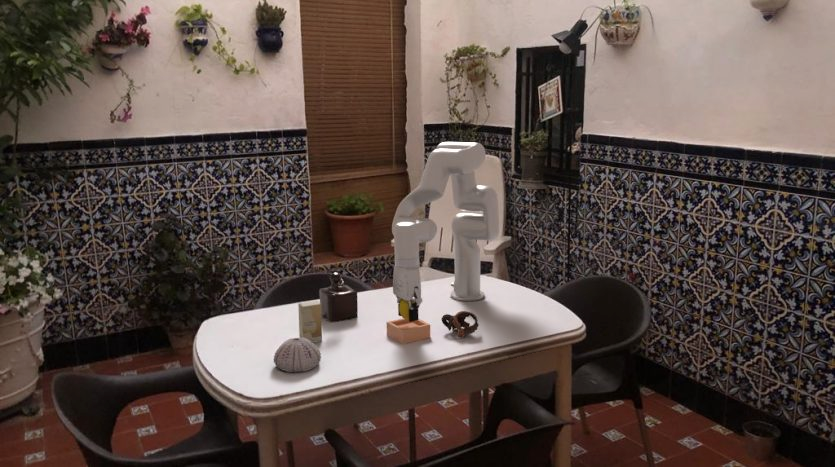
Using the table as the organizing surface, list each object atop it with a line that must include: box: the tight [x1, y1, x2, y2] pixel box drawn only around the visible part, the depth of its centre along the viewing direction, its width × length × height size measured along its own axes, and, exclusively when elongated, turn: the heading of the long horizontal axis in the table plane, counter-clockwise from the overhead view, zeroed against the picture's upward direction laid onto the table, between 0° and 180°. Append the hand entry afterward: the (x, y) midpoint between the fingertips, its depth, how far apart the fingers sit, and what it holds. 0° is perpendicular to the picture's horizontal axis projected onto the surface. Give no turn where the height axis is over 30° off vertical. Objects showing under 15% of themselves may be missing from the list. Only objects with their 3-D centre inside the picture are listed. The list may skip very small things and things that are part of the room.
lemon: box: [399, 299, 415, 321], centre depth 213 cm, size 6×6×8 cm
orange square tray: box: [386, 317, 431, 345], centre depth 214 cm, size 10×10×4 cm
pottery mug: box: [440, 310, 480, 339], centre depth 216 cm, size 12×9×8 cm
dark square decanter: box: [318, 269, 359, 323], centre depth 231 cm, size 16×11×18 cm
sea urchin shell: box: [273, 337, 322, 373], centre depth 193 cm, size 13×14×8 cm
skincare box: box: [297, 300, 323, 344], centre depth 211 cm, size 6×4×12 cm
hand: (408, 317), depth 214 cm, fingers closed on lemon, 5 cm apart
